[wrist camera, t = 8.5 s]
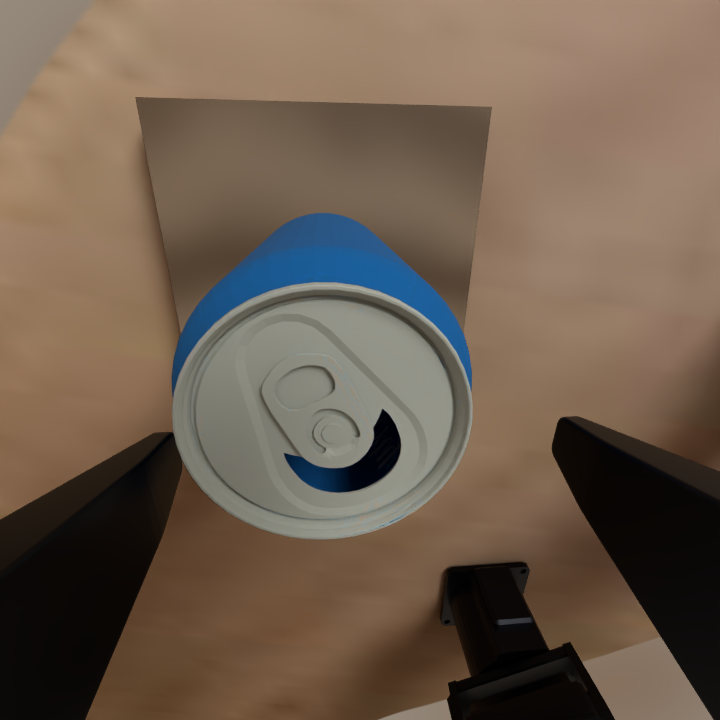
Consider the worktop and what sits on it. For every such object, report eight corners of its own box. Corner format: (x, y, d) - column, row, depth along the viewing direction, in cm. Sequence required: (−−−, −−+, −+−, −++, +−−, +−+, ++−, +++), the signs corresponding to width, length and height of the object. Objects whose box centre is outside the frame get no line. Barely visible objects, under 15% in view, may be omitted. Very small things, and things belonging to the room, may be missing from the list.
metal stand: (444, 386, 23) (454, 403, 21) (206, 393, 22) (196, 412, 20) (474, 115, 18) (491, 107, 16) (156, 107, 16) (135, 97, 15)
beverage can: (297, 368, 20) (266, 591, 9) (227, 252, 17) (59, 366, 6) (413, 314, 19) (531, 482, 8) (357, 185, 16) (424, 180, 6)
